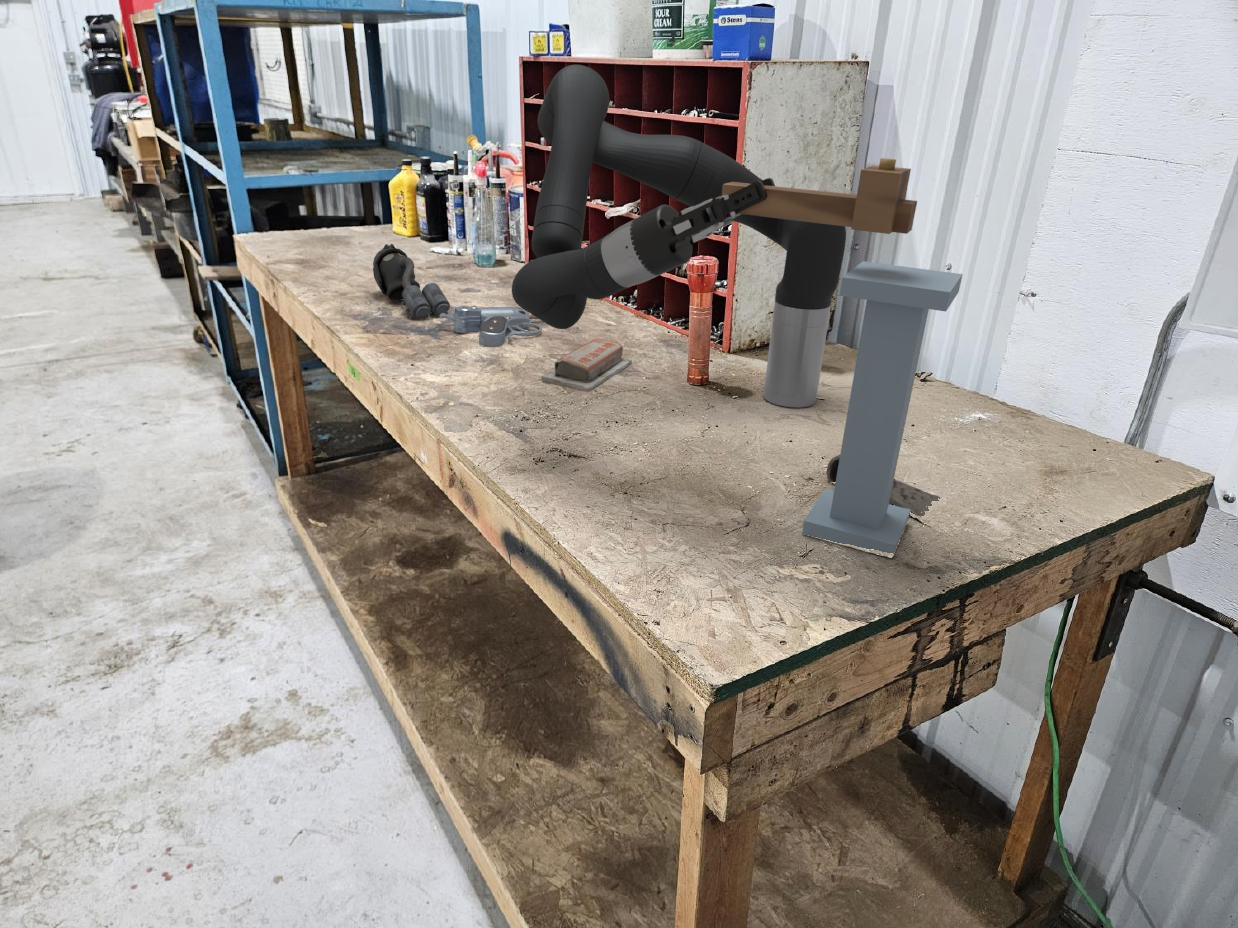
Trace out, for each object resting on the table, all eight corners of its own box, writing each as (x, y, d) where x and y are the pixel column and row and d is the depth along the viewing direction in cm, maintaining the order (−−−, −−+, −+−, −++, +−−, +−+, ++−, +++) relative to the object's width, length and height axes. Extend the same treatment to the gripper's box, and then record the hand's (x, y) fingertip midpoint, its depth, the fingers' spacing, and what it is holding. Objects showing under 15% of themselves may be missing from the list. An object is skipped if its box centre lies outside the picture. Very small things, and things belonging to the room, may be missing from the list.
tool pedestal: (823, 501, 108) (863, 261, 94) (907, 523, 104) (962, 274, 90) (802, 534, 100) (842, 277, 86) (892, 559, 96) (950, 292, 82)
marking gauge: (733, 206, 97) (740, 144, 94) (914, 227, 88) (927, 160, 85) (715, 213, 92) (721, 147, 89) (904, 235, 84) (918, 164, 81)
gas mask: (407, 353, 185) (365, 279, 196) (444, 347, 190) (401, 275, 201) (415, 303, 174) (370, 228, 186) (454, 298, 179) (407, 225, 191)
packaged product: (587, 333, 159) (633, 342, 155) (586, 357, 161) (632, 366, 157) (540, 358, 144) (589, 368, 140) (540, 384, 146) (589, 394, 142)
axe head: (997, 505, 106) (964, 530, 99) (982, 535, 108) (949, 562, 102) (863, 434, 117) (826, 453, 111) (852, 463, 120) (816, 483, 113)
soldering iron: (461, 355, 161) (437, 327, 173) (586, 350, 174) (556, 324, 186) (463, 328, 158) (438, 301, 170) (590, 324, 171) (559, 299, 183)
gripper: (607, 227, 95) (735, 160, 85) (658, 212, 106) (776, 151, 96) (633, 287, 96) (761, 227, 86) (680, 266, 107) (799, 211, 97)
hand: (768, 187), depth 91 cm, fingers closed on marking gauge, 3 cm apart
